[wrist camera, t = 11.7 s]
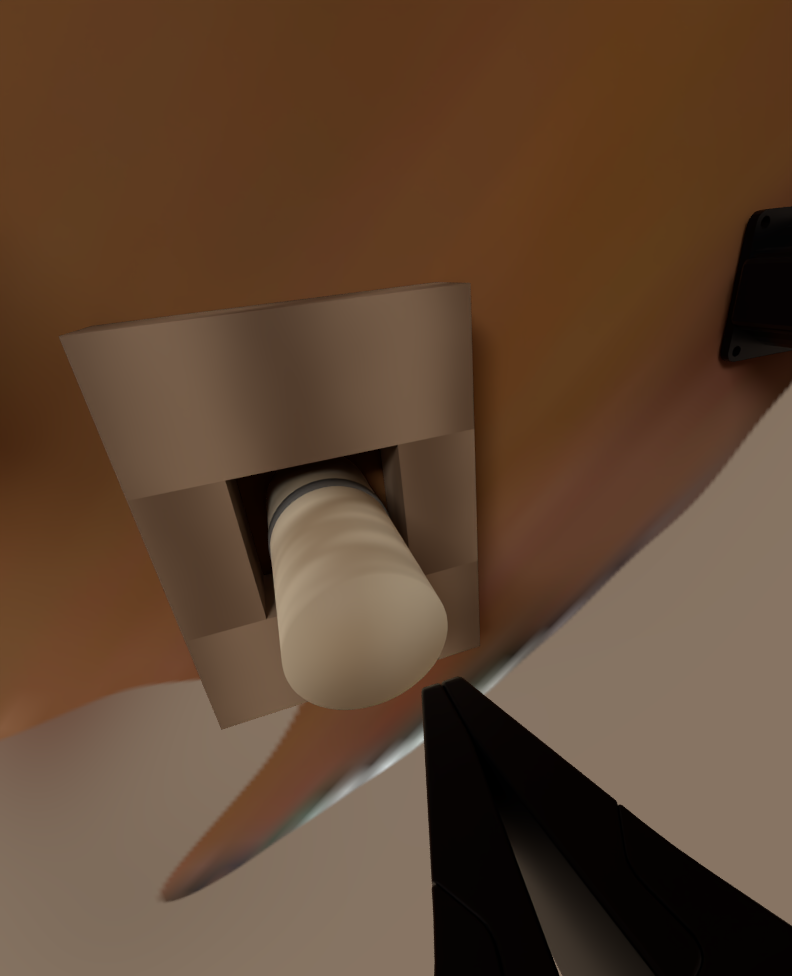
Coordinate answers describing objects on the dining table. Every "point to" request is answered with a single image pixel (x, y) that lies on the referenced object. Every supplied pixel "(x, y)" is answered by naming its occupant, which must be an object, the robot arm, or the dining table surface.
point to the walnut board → (285, 452)
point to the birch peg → (347, 590)
